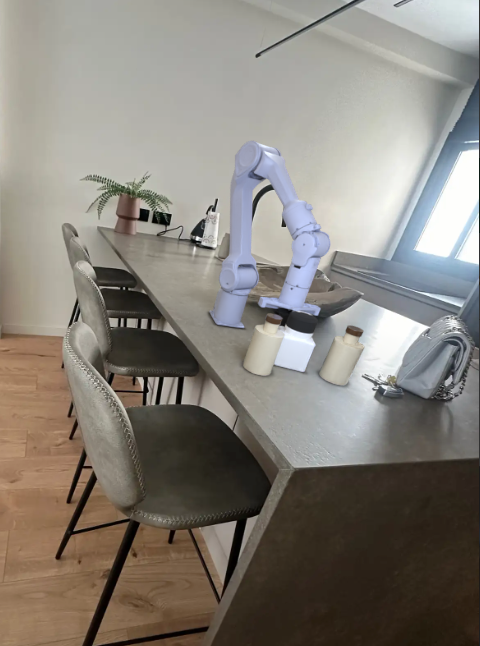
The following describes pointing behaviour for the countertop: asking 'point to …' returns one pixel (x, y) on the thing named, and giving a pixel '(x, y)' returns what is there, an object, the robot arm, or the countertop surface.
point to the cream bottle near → (264, 346)
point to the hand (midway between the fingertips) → (278, 337)
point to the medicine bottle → (297, 341)
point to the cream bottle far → (342, 357)
